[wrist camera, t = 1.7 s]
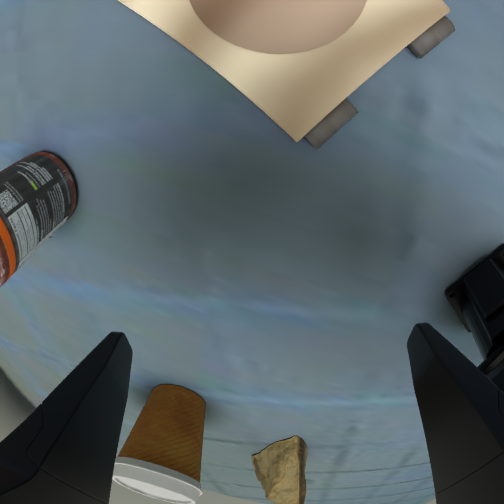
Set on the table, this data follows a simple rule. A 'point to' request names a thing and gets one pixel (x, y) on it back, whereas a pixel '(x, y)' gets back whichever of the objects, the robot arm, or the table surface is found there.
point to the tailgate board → (300, 49)
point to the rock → (283, 471)
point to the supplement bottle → (32, 207)
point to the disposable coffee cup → (165, 447)
